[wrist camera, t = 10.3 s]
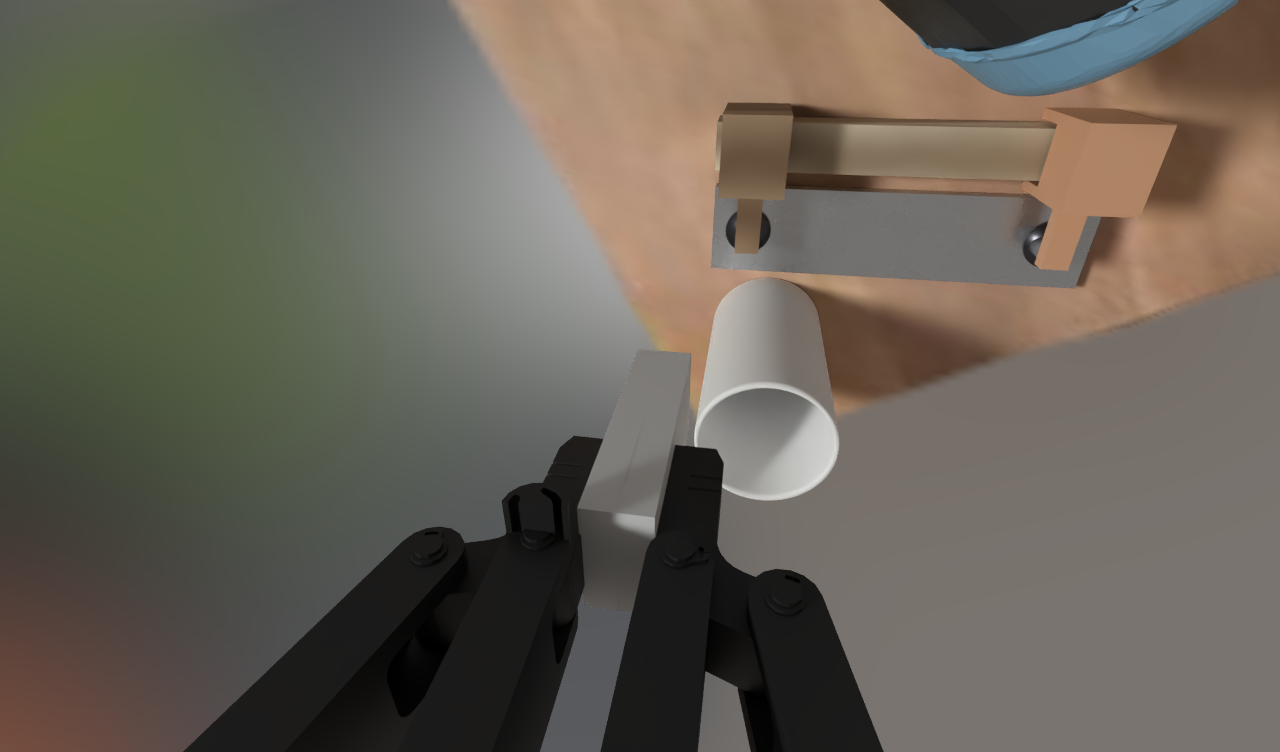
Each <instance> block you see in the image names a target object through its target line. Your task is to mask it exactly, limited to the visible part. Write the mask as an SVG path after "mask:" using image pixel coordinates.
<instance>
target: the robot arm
mask: <svg viewBox="0 0 1280 752" xmlns="http://www.w3.org/2000/svg"><path fill="white" fill-rule="evenodd" d="M880 1H881V2H882V3H883V4H884V5H885V6H886V7H887V8H889V9H890V10H891V11H892V12H893V13H894V14H895V15H896V16H897V17H899V18H900V19H901V20H902V21H903V22H904V23H905V24H906V25H907V26H909V27H910V28H911V29H912V30H913V31H914V32H915V33H916V34H917V36H918V38H919V40H920V41H921V42H922V44H923V45H924V46H925V47H926V48H927V49H931V50H932V51H933V52H934V53H935V54H936V55H939V56H941V57H944V58H947V59H951V60H952V61H954V62H955V63H956V64H958V65H959V66H960V67H962V68H963V69H964V70H965V71H967V72H968V73H969V74H971V75H972V76H973V77H974V78H976V79H977V80H978V81H980V82H981V83H982V84H984V85H985V86H987V87H989V88H990V89H993V90H995V91H998V92H1001V93H1004V94H1008V95H1014V96H1041V95H1049V94H1055V93H1059V92H1064V91H1068V90H1071V89H1075V88H1079V87H1082V86H1085V85H1088V84H1090V83H1093V82H1096V81H1099V80H1101V79H1104V78H1106V77H1109V76H1111V75H1114V74H1116V73H1118V72H1121V71H1123V70H1125V69H1127V68H1130V67H1132V66H1134V65H1136V64H1138V63H1140V62H1142V61H1144V60H1146V59H1148V58H1150V57H1151V56H1153V55H1155V54H1157V53H1160V52H1161V51H1163V50H1165V49H1167V48H1169V47H1170V46H1172V45H1174V44H1176V43H1177V42H1179V41H1181V40H1183V39H1184V38H1186V37H1188V36H1189V35H1191V34H1193V33H1194V32H1196V31H1197V30H1199V29H1200V28H1202V27H1204V26H1205V25H1207V24H1208V23H1210V22H1211V21H1213V20H1214V19H1216V18H1217V17H1219V16H1220V15H1222V14H1223V13H1225V12H1226V11H1228V10H1229V9H1230V8H1232V7H1233V6H1235V5H1236V4H1238V1H1239V0H880ZM690 371H691V353H679V352H667V351H654V350H641V349H638V351H637V353H636V356H635V358H634V361H633V364H632V366H631V369H630V372H629V374H628V377H627V379H626V382H625V385H624V387H623V390H622V392H621V395H620V398H619V400H618V403H617V405H616V408H615V411H614V413H613V416H612V418H611V421H610V424H609V427H608V429H607V431H606V434H605V437H604V439H599V438H589V437H580V436H573V437H572V438H571V439H570V440H568V441H567V442H566V443H565V444H564V445H562V446H561V447H560V448H559V450H558V453H557V455H556V457H555V459H554V461H553V464H552V465H551V467H550V469H549V471H548V475H547V476H546V478H545V480H544V482H543V483H531V484H527V485H524V486H520V487H518V488H516V489H514V490H513V491H512V492H509V493H508V494H507V496H506V497H505V498H504V499H503V500H502V506H503V513H504V519H505V525H506V532H507V533H506V535H504V536H502V537H500V538H496V539H491V540H485V541H478V542H470V543H464V541H463V539H462V537H461V535H460V534H459V533H458V532H456V531H454V530H452V529H451V528H445V527H433V528H426V529H424V530H421V531H419V532H416V533H414V534H413V535H411V536H409V537H408V538H407V539H405V540H404V541H403V542H402V543H400V544H399V545H398V546H397V547H396V548H395V549H394V550H393V551H392V552H391V553H390V554H389V555H388V556H387V557H386V558H385V559H384V560H383V561H382V562H381V563H380V564H379V565H378V566H376V568H374V569H373V570H372V571H371V572H370V573H369V574H368V575H367V576H366V577H365V578H364V579H363V580H362V581H361V582H360V583H359V584H358V585H357V586H356V587H355V588H354V589H353V590H351V591H350V592H349V593H348V594H347V595H346V596H345V597H344V598H343V599H342V600H341V601H340V602H339V603H338V604H337V605H336V606H335V607H334V608H333V609H332V610H331V611H330V612H329V613H327V615H325V616H324V617H323V618H322V619H321V620H320V621H319V622H318V623H317V624H316V625H315V626H314V627H313V628H312V629H311V630H310V631H309V632H308V633H307V634H306V635H305V636H304V637H302V639H300V640H299V641H298V642H297V643H296V644H295V645H294V646H293V647H292V648H291V649H290V650H289V651H288V652H287V653H286V654H285V655H284V656H283V657H282V658H281V659H280V660H278V661H277V662H276V663H275V664H274V665H273V666H272V667H271V668H270V669H269V670H268V671H267V672H266V673H265V674H264V675H263V676H262V677H261V678H260V679H259V680H258V681H257V682H256V683H255V684H253V685H252V686H251V687H250V688H249V689H248V690H247V691H246V692H245V693H244V694H243V695H242V696H241V697H240V698H239V699H238V700H237V701H236V702H235V703H234V704H233V705H232V706H230V707H229V708H228V709H227V710H226V711H225V712H224V713H223V714H222V715H221V716H220V717H219V718H218V719H217V720H216V721H215V722H214V723H213V724H212V725H211V726H210V727H209V728H208V729H207V730H205V731H204V732H203V733H202V734H201V735H200V736H199V737H198V738H197V739H196V740H195V741H194V742H193V743H192V744H191V745H190V746H189V747H188V748H187V749H186V750H185V751H184V752H540V749H541V746H542V742H543V739H544V736H545V733H546V729H547V726H548V723H549V720H550V716H551V713H552V710H553V707H554V703H555V700H556V697H557V694H558V690H559V687H560V684H561V680H562V677H563V674H564V671H565V667H566V664H567V661H568V657H569V654H570V651H571V647H572V644H573V641H574V638H575V635H576V631H577V628H578V609H577V607H578V604H579V601H580V598H581V595H582V592H583V595H584V605H587V606H593V607H601V608H607V609H614V610H621V611H628V612H632V616H631V620H630V624H629V629H628V633H627V638H626V642H625V646H624V651H623V655H622V660H621V664H620V668H619V673H618V677H617V681H616V686H615V690H614V695H613V699H612V704H611V708H610V712H609V717H608V721H607V726H606V730H605V735H604V739H603V743H602V748H601V752H698V743H699V733H700V723H701V712H702V702H703V691H704V681H705V672H706V671H707V672H709V673H711V674H713V675H715V676H717V677H719V678H721V679H723V680H725V681H727V682H729V683H731V684H733V685H735V686H737V687H738V693H739V698H740V703H741V707H742V712H743V717H744V721H745V726H746V731H747V736H748V740H749V745H750V750H751V752H883V749H882V747H881V744H880V742H879V739H878V737H877V734H876V731H875V729H874V727H873V724H872V721H871V719H870V716H869V714H868V711H867V709H866V706H865V703H864V701H863V698H862V696H861V693H860V691H859V688H858V685H857V683H856V680H855V678H854V675H853V673H852V670H851V668H850V665H849V662H848V660H847V657H846V655H845V652H844V650H843V647H842V645H841V642H840V640H839V637H838V634H837V632H836V630H835V627H834V624H833V622H832V619H831V617H830V614H829V611H828V609H827V606H826V604H825V601H824V599H823V596H822V594H821V593H820V591H819V590H818V588H817V587H816V585H815V584H814V583H812V582H811V581H810V580H809V579H807V578H806V577H805V576H803V575H801V574H798V573H796V572H793V571H791V570H781V569H774V570H770V571H765V572H763V573H762V574H760V575H758V576H757V577H754V576H752V575H749V574H747V573H744V572H742V571H740V570H738V569H736V568H735V567H733V566H732V565H731V564H730V563H728V562H727V561H726V560H725V559H724V557H723V556H722V555H721V553H720V551H719V548H718V546H717V539H718V528H719V517H720V507H721V494H722V482H723V469H724V462H723V460H722V459H721V457H720V455H719V453H718V451H717V449H711V448H702V447H690V446H686V441H687V436H688V419H689V395H690Z"/></svg>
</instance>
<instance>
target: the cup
mask: <svg viewBox="0 0 1280 752" xmlns="http://www.w3.org/2000/svg"><path fill="white" fill-rule="evenodd" d="M694 440H695V442H694V443H695V447H702V448H711V449H717V451H718V453H719V455H720V457H721V459H722V460H723V462H724V469H723V482H722V487H723V488H725V489H726V490H728V491H730V492H732V493H735V494H737V495H740V496H743V497H747V498H751V499H757V500H780V499H786V498H791V497H794V496H797V495H800V494H802V493H805V492H807V491H809V490H810V489H812V488H814V487H815V486H817V485H818V484H819V483H820V482H821V481H823V480H824V479H825V477H826V476H827V475H828V474H829V473H830V471H831V469H832V468H833V466H834V464H835V462H836V459H837V456H838V450H839V433H838V427H837V421H836V415H835V409H834V403H833V397H832V392H831V386H830V380H829V374H828V368H827V363H826V357H825V351H824V345H823V339H822V334H821V328H820V322H819V317H818V312H817V309H816V307H815V305H814V303H813V301H812V300H811V298H810V297H809V296H808V295H807V294H806V293H805V292H804V291H803V290H802V289H800V288H799V287H798V286H796V285H794V284H792V283H790V282H788V281H785V280H781V279H776V278H759V279H754V280H750V281H747V282H744V283H742V284H740V285H738V286H737V287H735V288H734V289H732V290H731V291H730V292H729V293H728V294H727V295H726V296H725V297H724V298H723V299H722V301H721V302H720V304H719V306H718V308H717V310H716V313H715V317H714V322H713V328H712V334H711V339H710V345H709V351H708V357H707V363H706V368H705V374H704V380H703V386H702V392H701V397H700V403H699V409H698V415H697V421H696V427H695V437H694Z"/></svg>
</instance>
